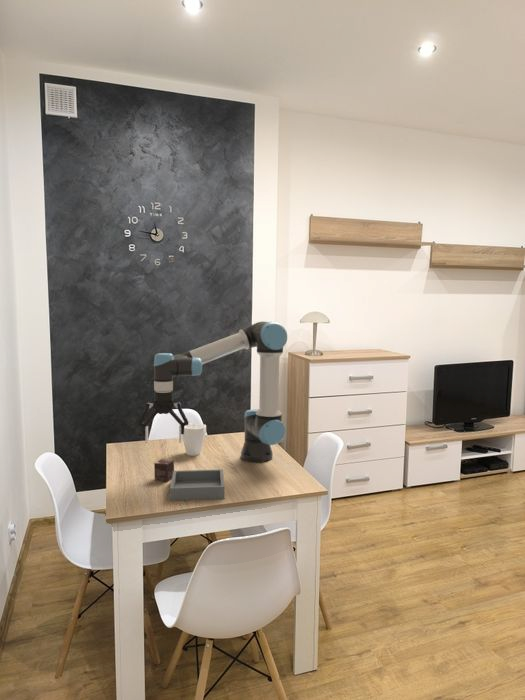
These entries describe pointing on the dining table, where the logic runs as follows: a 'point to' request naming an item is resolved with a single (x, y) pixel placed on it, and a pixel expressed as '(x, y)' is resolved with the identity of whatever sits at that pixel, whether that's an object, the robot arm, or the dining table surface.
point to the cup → (194, 438)
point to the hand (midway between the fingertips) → (163, 442)
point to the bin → (197, 485)
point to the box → (164, 470)
